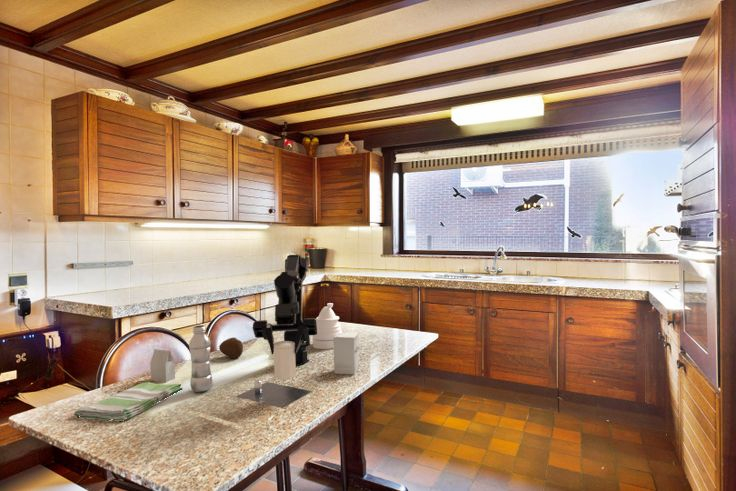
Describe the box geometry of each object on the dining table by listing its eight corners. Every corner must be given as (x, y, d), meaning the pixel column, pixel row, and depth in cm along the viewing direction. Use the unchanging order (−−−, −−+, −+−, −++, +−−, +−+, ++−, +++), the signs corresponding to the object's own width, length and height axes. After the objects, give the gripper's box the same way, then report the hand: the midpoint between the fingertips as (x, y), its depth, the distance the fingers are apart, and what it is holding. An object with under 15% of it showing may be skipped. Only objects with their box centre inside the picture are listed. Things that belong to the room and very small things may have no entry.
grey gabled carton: (166, 382, 136) (165, 352, 135) (151, 380, 138) (149, 350, 138) (175, 378, 139) (173, 349, 139) (160, 376, 142) (158, 347, 141)
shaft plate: (235, 399, 120) (235, 384, 120) (267, 384, 131) (267, 371, 131) (282, 410, 111) (282, 395, 111) (312, 393, 122) (312, 379, 122)
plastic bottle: (191, 396, 123) (188, 329, 122) (189, 389, 129) (187, 325, 128) (214, 392, 126) (211, 327, 125) (211, 385, 132) (209, 323, 131)
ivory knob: (270, 377, 119) (269, 344, 118) (285, 371, 124) (283, 340, 124) (285, 380, 116) (284, 347, 115) (300, 374, 121) (299, 342, 120)
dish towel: (71, 419, 110) (71, 406, 110) (138, 388, 133) (137, 377, 132) (124, 424, 106) (124, 411, 106) (184, 391, 129) (183, 380, 128)
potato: (236, 361, 157) (236, 340, 157) (215, 359, 160) (215, 339, 160) (248, 355, 164) (247, 336, 163) (228, 354, 167) (227, 334, 167)
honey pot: (348, 343, 179) (347, 302, 178) (330, 350, 168) (329, 306, 167) (325, 339, 186) (324, 300, 185) (306, 346, 175) (305, 304, 174)
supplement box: (354, 374, 138) (353, 337, 137) (333, 374, 139) (332, 337, 139) (359, 367, 145) (358, 332, 145) (339, 367, 146) (338, 331, 146)
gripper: (252, 294, 122) (245, 340, 111) (315, 291, 124) (315, 337, 113) (258, 315, 130) (252, 360, 120) (317, 312, 132) (317, 356, 121)
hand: (283, 353), depth 118 cm, fingers closed on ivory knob, 6 cm apart
